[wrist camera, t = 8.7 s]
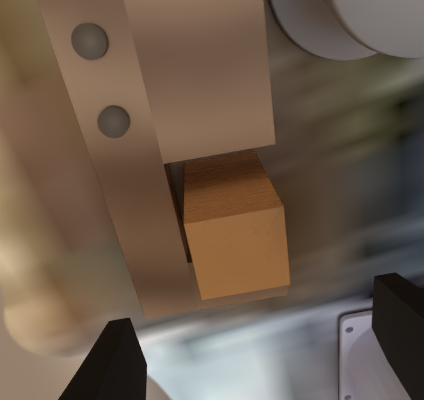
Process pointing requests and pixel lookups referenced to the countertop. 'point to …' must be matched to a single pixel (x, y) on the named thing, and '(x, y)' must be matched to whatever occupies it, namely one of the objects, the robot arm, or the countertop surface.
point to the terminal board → (162, 118)
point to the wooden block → (234, 226)
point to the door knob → (353, 27)
